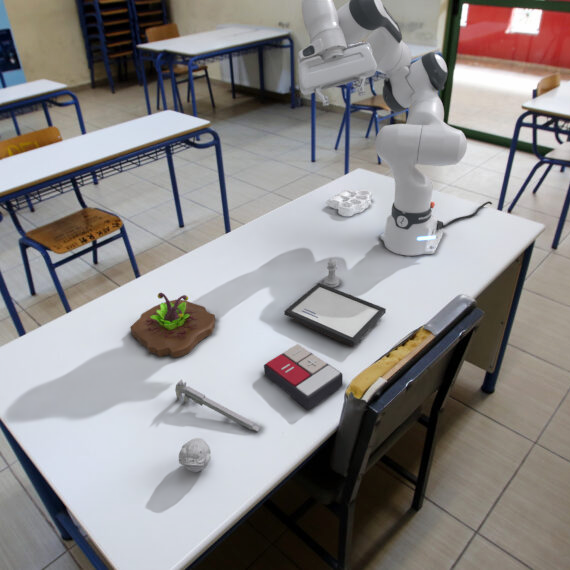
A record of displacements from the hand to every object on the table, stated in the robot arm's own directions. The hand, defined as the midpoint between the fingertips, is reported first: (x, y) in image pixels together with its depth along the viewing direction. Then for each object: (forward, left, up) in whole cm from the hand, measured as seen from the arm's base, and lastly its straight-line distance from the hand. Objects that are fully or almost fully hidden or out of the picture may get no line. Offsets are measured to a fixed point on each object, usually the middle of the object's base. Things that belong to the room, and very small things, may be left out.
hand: (344, 99), depth 129 cm
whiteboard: (+25, +15, -49) cm, 57 cm away
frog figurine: (+79, +18, -50) cm, 95 cm away
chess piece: (+11, +5, -50) cm, 51 cm away
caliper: (+67, +12, -50) cm, 84 cm away
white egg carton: (-37, -17, -50) cm, 64 cm away
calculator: (+48, +21, -50) cm, 72 cm away
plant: (+53, -17, -50) cm, 74 cm away
